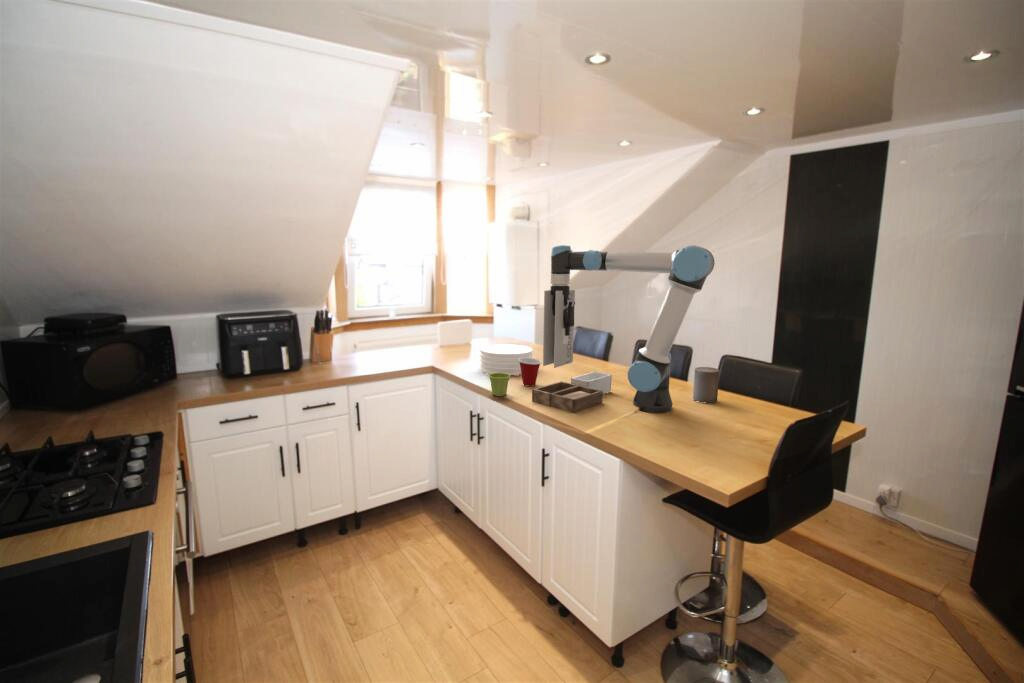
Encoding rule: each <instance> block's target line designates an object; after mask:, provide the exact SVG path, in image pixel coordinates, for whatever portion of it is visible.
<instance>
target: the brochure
mask: <svg viewBox="0 0 1024 683" xmlns="http://www.w3.org/2000/svg"><path fill="white" fill-rule="evenodd" d="M562 293H563V291H556V299H555V316H554V315H553V310H552V304H553V295H551V289H550V290H549V289H548V290H547V289H546V290H544V295H543V298H544V299H543V339H542V342H543V344H542V346H543V348H542V349H543V350H542V366H543V367H545V366H549V365H551V364H553V368H554V369H556V368H559V367H563V366H565V365H569V364H572V363H573V362H574V335H575V330H574V328H575V325H574V326H572V327H570V335H569V336H568V343H567V344H562V338H563V328H564V322H563V310H564V309H565V308H568V305H567V306H564V295H563V294H562ZM568 297H569V300H570V301H576V300H575V298H576V290H575V289H569V296H568ZM567 312H568V310H567Z"/></svg>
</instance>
